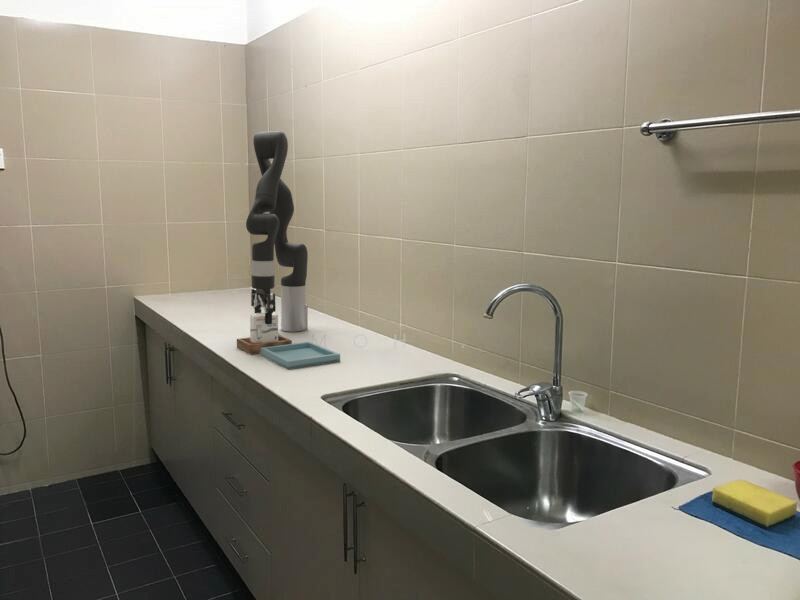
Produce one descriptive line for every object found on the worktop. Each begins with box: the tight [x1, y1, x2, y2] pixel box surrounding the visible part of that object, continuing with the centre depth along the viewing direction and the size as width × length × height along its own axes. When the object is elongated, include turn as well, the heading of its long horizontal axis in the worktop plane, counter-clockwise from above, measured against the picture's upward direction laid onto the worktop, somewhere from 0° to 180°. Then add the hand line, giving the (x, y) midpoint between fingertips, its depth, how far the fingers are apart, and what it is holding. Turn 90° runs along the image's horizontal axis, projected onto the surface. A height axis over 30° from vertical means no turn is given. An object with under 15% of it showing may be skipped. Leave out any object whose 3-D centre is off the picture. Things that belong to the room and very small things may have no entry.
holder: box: [236, 334, 293, 355], centre depth 223 cm, size 15×11×3 cm
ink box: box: [249, 312, 279, 344], centre depth 222 cm, size 9×5×12 cm, turn 116°
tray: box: [259, 341, 341, 370], centre depth 211 cm, size 18×20×2 cm
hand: (263, 321), depth 221 cm, fingers open, 8 cm apart
